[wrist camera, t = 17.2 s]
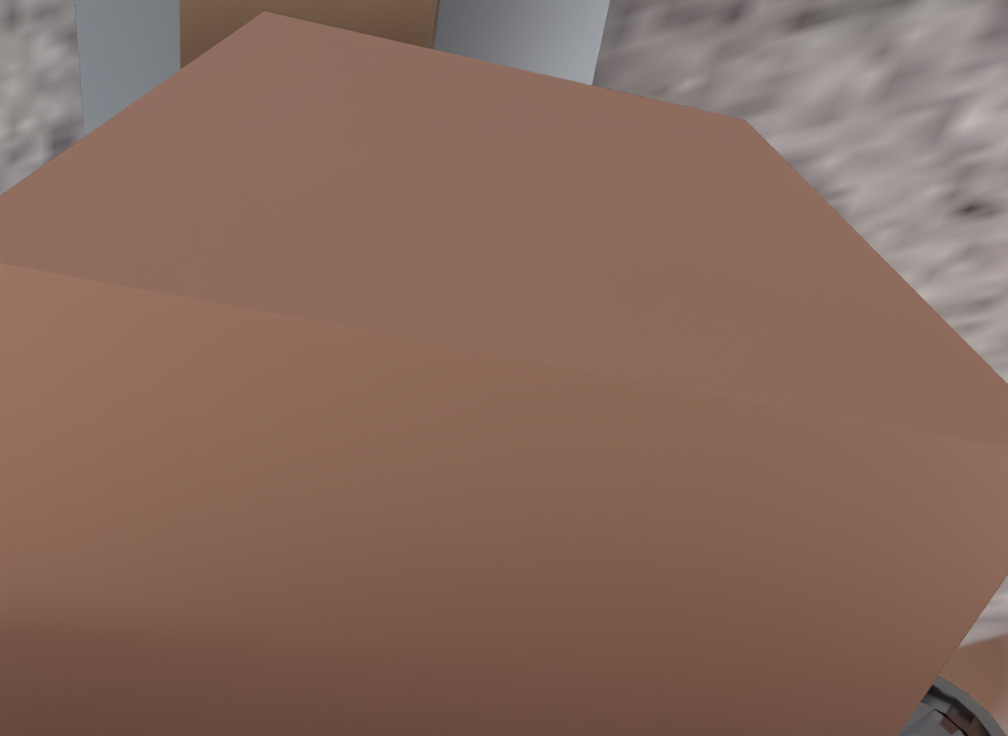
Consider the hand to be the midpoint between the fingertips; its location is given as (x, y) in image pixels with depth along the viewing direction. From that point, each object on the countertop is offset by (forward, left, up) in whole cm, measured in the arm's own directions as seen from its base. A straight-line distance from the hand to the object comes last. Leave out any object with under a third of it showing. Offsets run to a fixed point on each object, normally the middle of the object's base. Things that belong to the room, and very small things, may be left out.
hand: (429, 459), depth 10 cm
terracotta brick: (0, 0, -1) cm, 1 cm away
